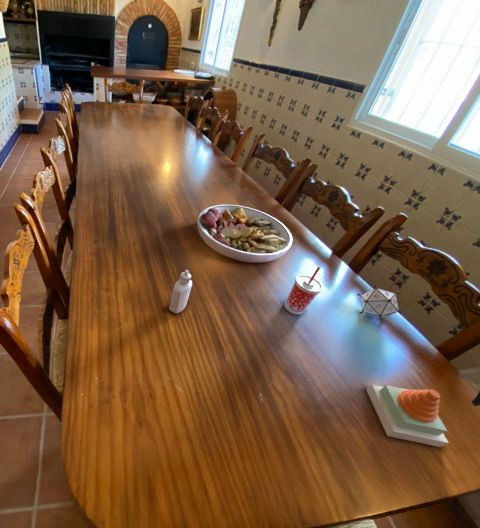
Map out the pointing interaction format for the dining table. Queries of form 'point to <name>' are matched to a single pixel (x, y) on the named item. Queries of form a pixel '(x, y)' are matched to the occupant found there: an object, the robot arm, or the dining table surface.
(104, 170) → the dining table surface
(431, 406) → the cone
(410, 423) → the top block
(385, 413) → the base block
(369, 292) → the game die
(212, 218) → the bowl
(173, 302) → the eye dropper bottle
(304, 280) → the beverage cup
